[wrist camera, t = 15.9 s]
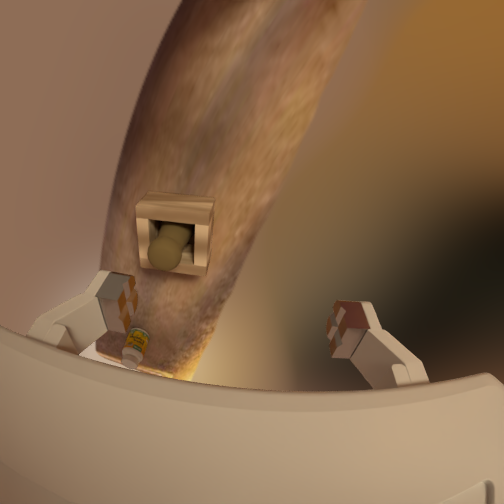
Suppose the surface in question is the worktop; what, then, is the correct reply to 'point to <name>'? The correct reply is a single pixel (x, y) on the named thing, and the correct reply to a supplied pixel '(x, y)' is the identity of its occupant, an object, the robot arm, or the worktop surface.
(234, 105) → the worktop surface
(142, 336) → the supplement bottle
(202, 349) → the worktop surface
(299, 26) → the worktop surface
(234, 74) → the worktop surface
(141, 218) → the shaker holder
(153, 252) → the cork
